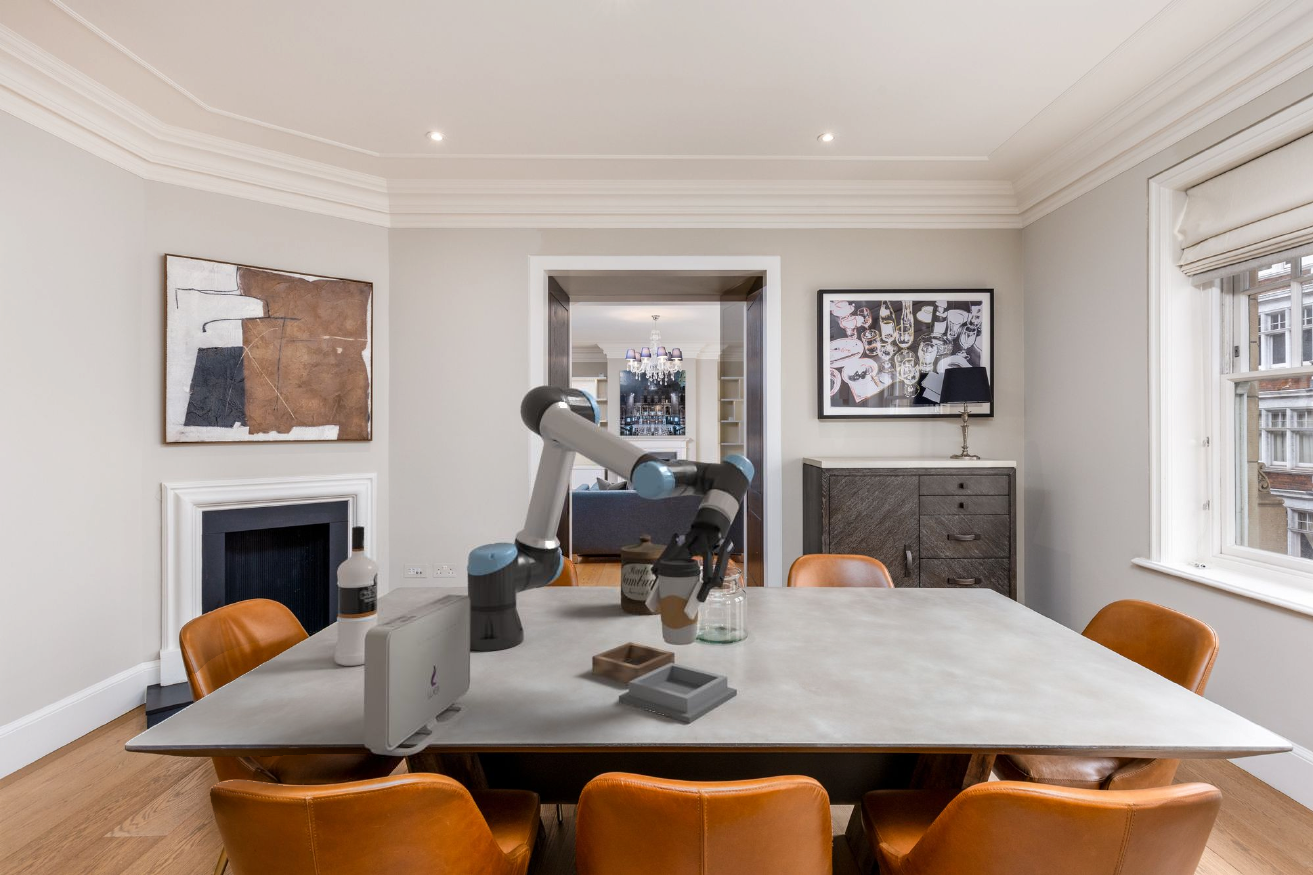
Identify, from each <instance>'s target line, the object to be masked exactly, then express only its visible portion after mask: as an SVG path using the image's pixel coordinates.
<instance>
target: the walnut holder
mask: <svg viewBox="0 0 1313 875" xmlns="http://www.w3.org/2000/svg"><path fill="white" fill-rule="evenodd" d="M675 655H676V654H675V652H673V651H668V650H664V649H660V648H656V647H651V646H647V645H644V644H639V643H634V642H631V641H630V642H628V643H625V644H622V645H619V646H617V647H614V648H611V649H608V650H606V651H603V652H601V653H598V654H596V655H592V658H591V659H592V660H591V661H592V665H591V666H592V670H591V671H592V672H591V674H593V675H597V676H600V677H603V678H608V679H611V680H613V681H618V682H621V683H624V684H627V683H628V685H629V681H632V680H634V679H636V678H638V677H641V676H643V675H645V674H647V673H649V672H652V671H654V670H656V669H658V668H660V667H663V666H665V665H667V664H669V663H674V664H676V663H675V657H676V656H675ZM631 661H632V662H636V663H639V664H638V665H635V664H631V663H628V662H631Z"/></svg>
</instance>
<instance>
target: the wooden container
mask: <svg viewBox="0 0 1313 875" xmlns="http://www.w3.org/2000/svg"><path fill="white" fill-rule="evenodd" d="M651 537H652V536H651V535H649V534H646V533H644V534H641V535H640V536H639V538H638V539H639V541H640V542H639V543H637V544H629V545H624V546H622V547H621V548H620V560H621V562H620V564H621V565H620V610H621V611H622V612H624V613H626V612H627V613H626V614H629V613H630V615H636V614H638V615H637V616H650V615H653V614H654V615H661V612H660V602H659V604H658V606H657V608H656V610H655V612H651V611H650V609H649V608H648V607H647V605H646V604H645V603H646V601H647V599H648V597H649V595H650V593H651V590H650V588H651V586H652V584H653V582H654V580H655V578H656V577H655V576H654V574H653V573H652V571H651V568H652V566H653V565H654V564H655V562H656V561H657V560H658V558H659V557H660V555H661V554H662V553H663V551H664V550H665V549H666V547H667V546H668V545H663V544H659V543H658V544H657V543H656V544H655V543H652V542H651V539H652V538H651Z"/></svg>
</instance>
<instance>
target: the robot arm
mask: <svg viewBox="0 0 1313 875" xmlns="http://www.w3.org/2000/svg"><path fill="white" fill-rule="evenodd" d="M519 410H520V416H521V420H522V422H523V424H524V425H525V426H526V428H528V429H529V430H530V431H531V432H533V433H535V434H536V435H537V436H539V437H540V438H541V440H542V441H543V447H542V451H541V455H540V457H539V458H540V459H539V462H538V463H539V464H538V468H537V470H536V472H537V473H536V476H535V481H534V484H533V489H532V493H531V497H530V501H529V505H528V509H527V513H526V518H525V521H524V522H525V523H524V526H523V529H522V530H520V531H518V532H517V533H516V534H515V539H514V542H513V543H512V542H495V543H488V544H483V545H481V546H478V547H475V548H474V549H472V550H471V551H470V553H468V561H467V566H466V572H467V596H469V598H470V651H477V652H479V651H480V652H482V651H483V652H485V651H488V652H489V651H500V650H505V649H510V648H512V647H515V646H518V645H519V644H521V643H523V642H524V640H525V639H524V637H525V635H524V633H525V631H524V628H523V624H522V622H521V618H520V616H519V611H518V608H517V594H518V593H521V592H525V591H529V590H533V589H539V588H544V587H545V586H547V585H549V584H552V583H553V582H555V581H557V579H558V578H559V577H560V575H561V573H562V570H563V567H564V562H565V561H564V560H565V559H564V556H563V555H562V553H563V552H562V549H561V547H560V544H561V541H560V540H559V539H558V537H557V532H558V529H559V525H560V521H561V516H562V512H563V509H564V504H565V500H566V496H567V492H568V488H569V485H570V480H571V475H572V471H573V468H574V464H575V459H576V455H577V454H579V455H580V456H582V457H584V458H586V459H588V460H590V461H592V462H593V463H594V464H596V465H599V466H600V467H602V468H603V469H605V470H606V471H609V472H611V473H612V474H614V475H616V476H617V477H618V478H621V479H623V480H624V481H626V482H628V483H630V484H631V485H632V487H633V489H634V491H635V492H636V494H637V495H638V496H640V497H641V498H643V499H647V500H655V501H656V500H661V499H662V500H663V499H667V498H673V497H682V496H699V497H703V499H702V501H701V503H700V504H699V506H698V510H697V511H696V512H695V515H694V516H693V519H692V520H691V523H690V530H688V531H687V533H686V534H685V535H679V533H678V532H674V533H673V534H672V536H671V539H670V542H669V543H668V544H667V545H666V546H667V547H666V549H665V550H664V551H663V553H662V554H661V555H660V557H659V558H658V560H657V561H656V562H655V564H654V565H653V566H652V568H651V571H652V573H653V574H654V576H655V577H656V578H655V580H654V582H653V584H652V586H651V588H650V590H651V593H650V595H649V597H648V599H647V601H646V603H645V604H646V605H647V607H648V608H649V609H650V611H651V612H655V610H656V608H657V606H658V604H659V602H660V598H659V597H660V591H659V577H658V574H657V572H658V566H660V561H661V560H663V559H669V558H690V559H694V557H702V577H700V578H701V580H700V581H698V582H697V584H696V586H695V588H694V590H693V593H692V595H691V597H690V599H689V601H688V603H687V605H686V607H685V610H684V611H685V613H686V614H687V616H688V617H689V618H690V619H693V620H694V617H695V615H696V613H697V611H698V612H699V609H700V606H701V604H702V603H705V602H706V600H707V598H708V596H709V594H710V591H711V590H712V589H713V588H716V587H717V588H718V589H720V588H722V587H723V586H724V582H725V577H726V573H727V569H728V565H729V562H730V561H729V560H730V557H731V554H732V553H733V551H734V550H735V546H734V544H733V542H732V540H731V538H730V537H727V536H728V532H729V531H730V528H731V525H732V524H733V522H734V520H735V517H736V515H737V513H738V511H739V508H740V506H741V503H742V501H743V499H744V497H745V495H746V494H747V491H748V490H749V488H750V487H751V484H752V481H753V478H754V475H755V467H754V465H753V464H752V462H751V460H750V459H748V458H747V457H745V456H743V455H741V454H737V453H731V454H728V455H726V456H725V457H723V459H722V460H721V462H720V463H717V462H716V463H715V462H702V461H695V460H689V459H680V458H679V459H671V460H669V461H666V460H663V459H661V458H659V457H658V456H655V455H653V454H651V453H650V452H648V451H646V450H644V449H643V448H640V447H639V446H637V445H635V444H634V443H632V442H629V441H627V440H626V439H624V438H623V437H620V436H618V435H616V433H613V432H611V431H609V430H607V429H605V428H603V427H602V426H600V425H599V424H600V419H601V410H600V406H599V404H598V403H597V400H596V399H595V397H594V396H593V395H592V394H591V393H590V392H588V391H586V390H582V389H578V388H574V387H561V386H553V385H540V386H537V387H534V388H532V389H530V390H529V391H528V392H527V393H526V394H525V396H524V397H523V398H522V401H521V403H520V409H519ZM717 550H718V552H717V557H716V559H715V552H716V551H717ZM715 560H716V561H715ZM714 561H715V565H714Z"/></svg>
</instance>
